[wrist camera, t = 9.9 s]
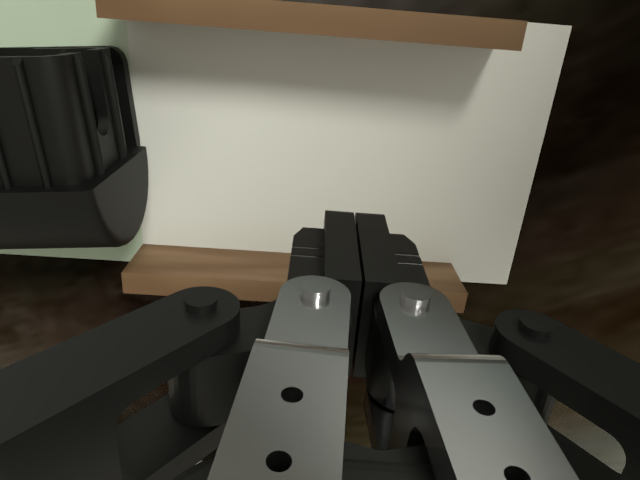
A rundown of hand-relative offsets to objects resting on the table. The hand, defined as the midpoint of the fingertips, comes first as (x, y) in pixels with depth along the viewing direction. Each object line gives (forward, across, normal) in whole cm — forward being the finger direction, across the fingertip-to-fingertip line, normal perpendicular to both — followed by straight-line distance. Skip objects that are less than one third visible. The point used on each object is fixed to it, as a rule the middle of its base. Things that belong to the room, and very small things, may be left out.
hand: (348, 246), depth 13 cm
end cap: (+10, +13, +1) cm, 17 cm away
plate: (+10, +7, +1) cm, 13 cm away
